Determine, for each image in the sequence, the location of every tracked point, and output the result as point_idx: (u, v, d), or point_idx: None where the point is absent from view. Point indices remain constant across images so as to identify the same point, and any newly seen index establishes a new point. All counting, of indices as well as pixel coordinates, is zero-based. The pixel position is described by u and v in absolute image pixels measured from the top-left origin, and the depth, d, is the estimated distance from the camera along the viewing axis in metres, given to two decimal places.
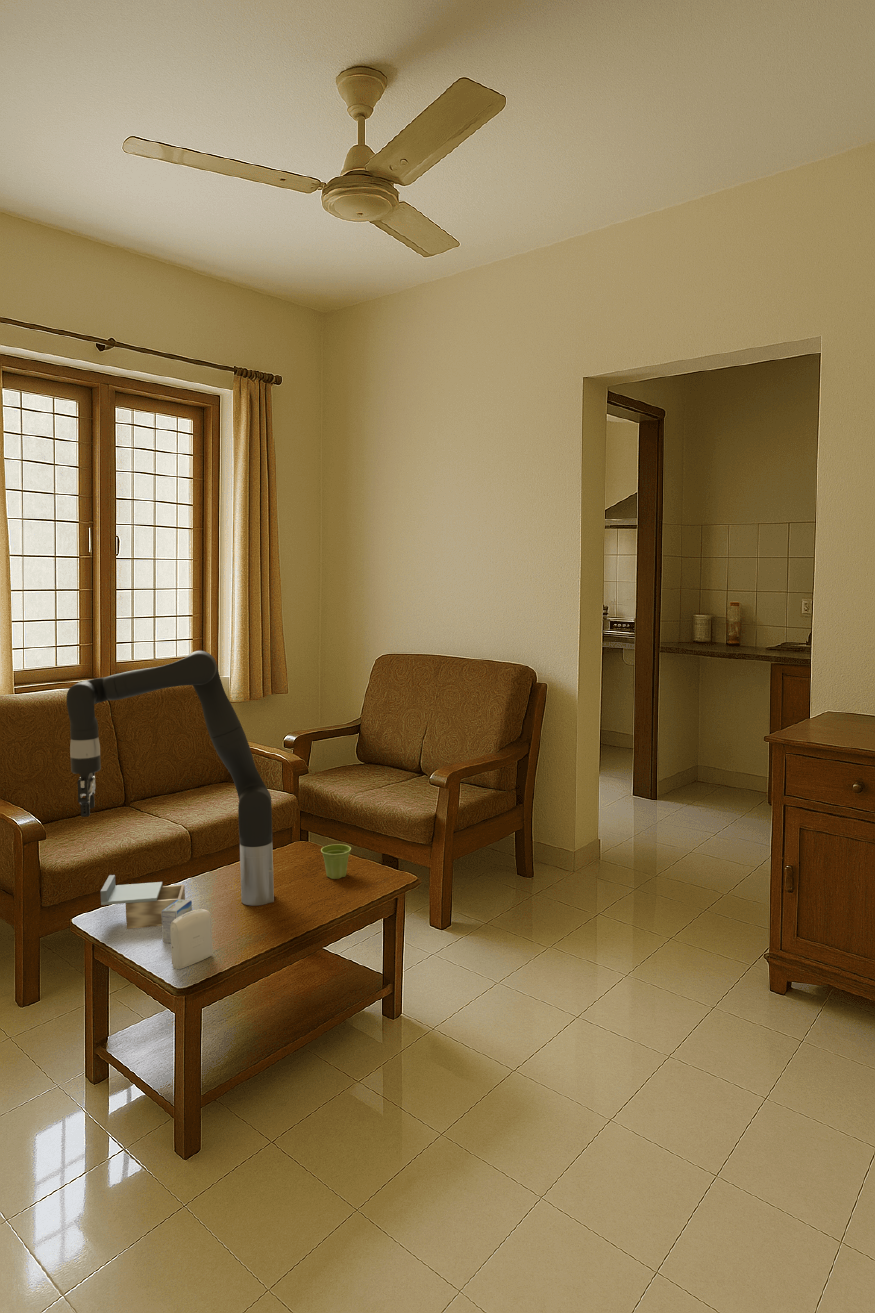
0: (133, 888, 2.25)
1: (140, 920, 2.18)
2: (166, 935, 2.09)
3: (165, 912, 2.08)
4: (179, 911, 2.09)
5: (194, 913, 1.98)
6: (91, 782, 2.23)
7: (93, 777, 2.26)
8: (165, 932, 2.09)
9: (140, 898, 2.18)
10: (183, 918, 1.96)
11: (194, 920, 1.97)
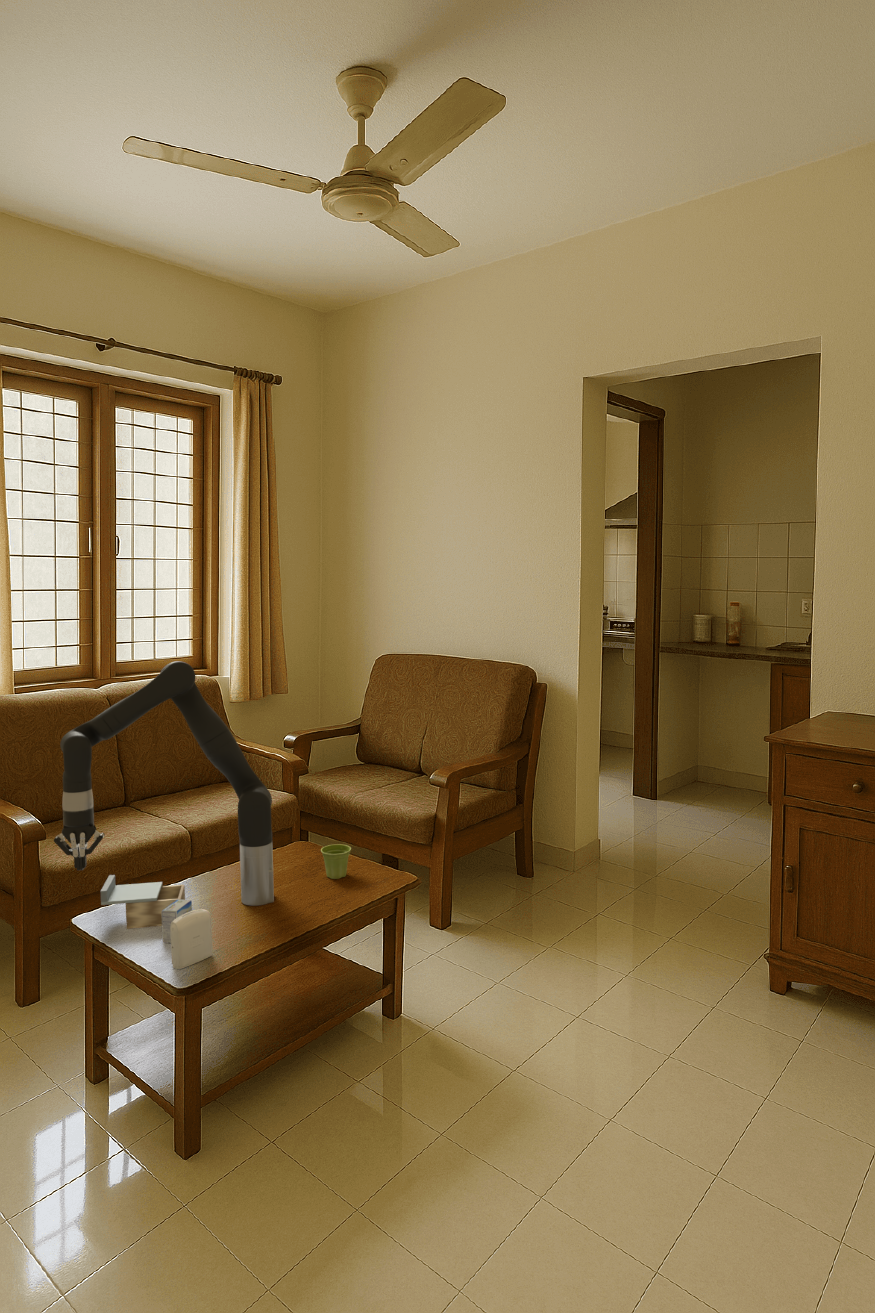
0: (133, 888, 2.25)
1: (140, 920, 2.18)
2: (166, 935, 2.09)
3: (165, 912, 2.08)
4: (179, 911, 2.09)
5: (194, 913, 1.98)
6: None
7: None
8: (165, 932, 2.09)
9: (140, 898, 2.18)
10: (183, 918, 1.96)
11: (194, 920, 1.97)
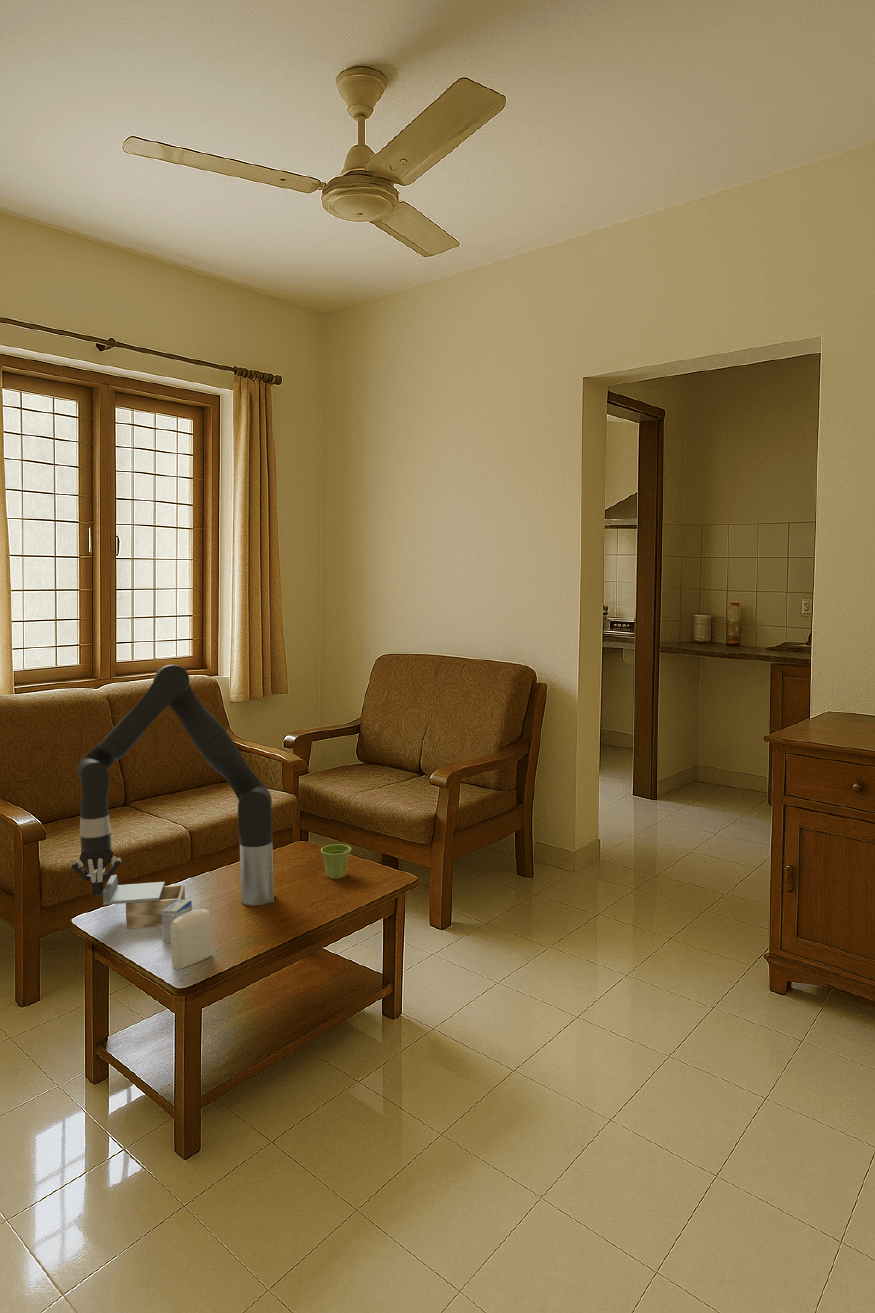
0: (135, 888, 2.25)
1: (140, 920, 2.18)
2: (166, 935, 2.09)
3: (165, 912, 2.08)
4: (179, 911, 2.09)
5: (194, 913, 1.98)
6: None
7: None
8: (165, 932, 2.09)
9: (142, 898, 2.18)
10: (183, 918, 1.96)
11: (194, 920, 1.97)
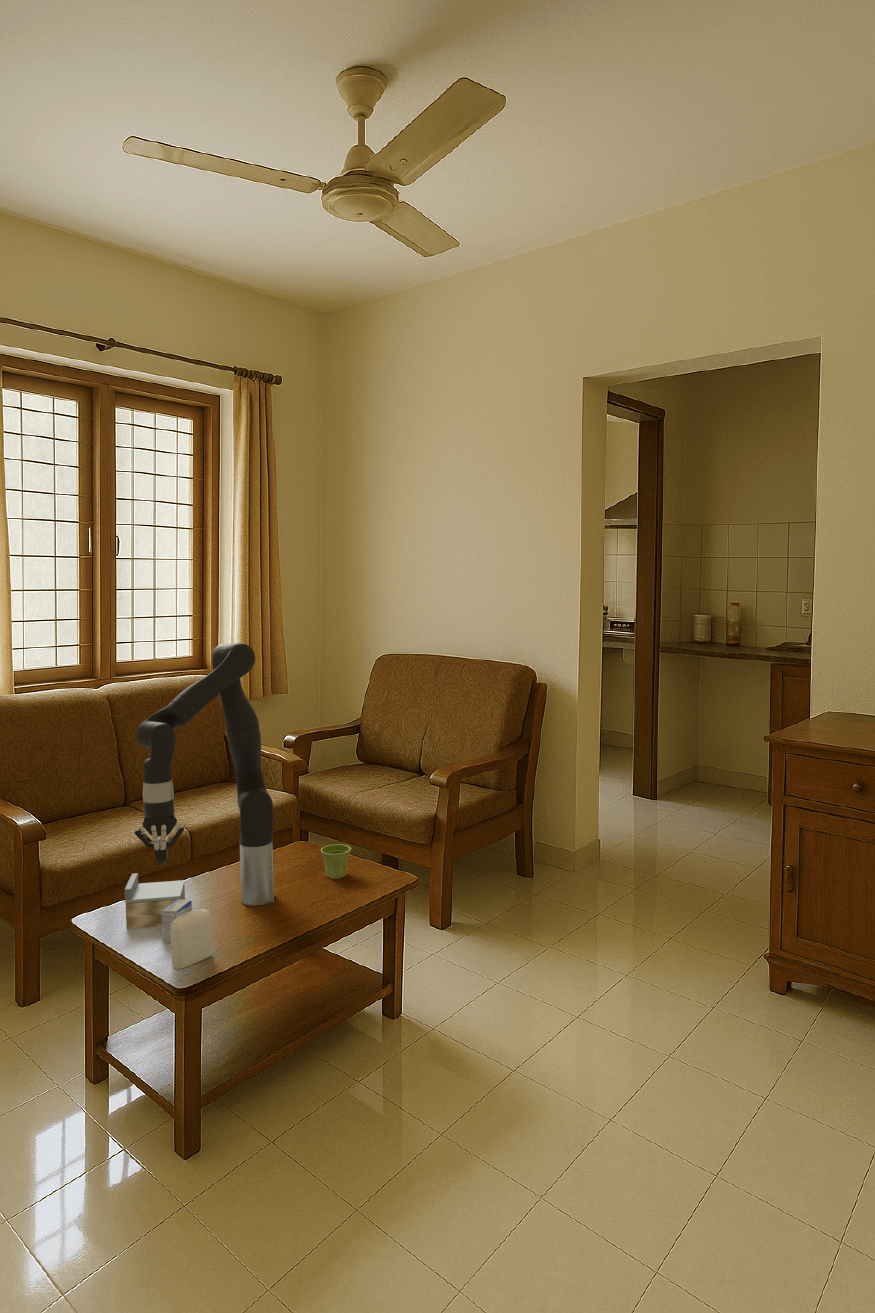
0: (156, 886, 2.26)
1: (140, 920, 2.18)
2: (166, 935, 2.09)
3: (165, 912, 2.08)
4: (179, 911, 2.09)
5: (194, 913, 1.98)
6: None
7: None
8: (165, 932, 2.09)
9: (164, 896, 2.19)
10: (183, 918, 1.96)
11: (194, 920, 1.97)
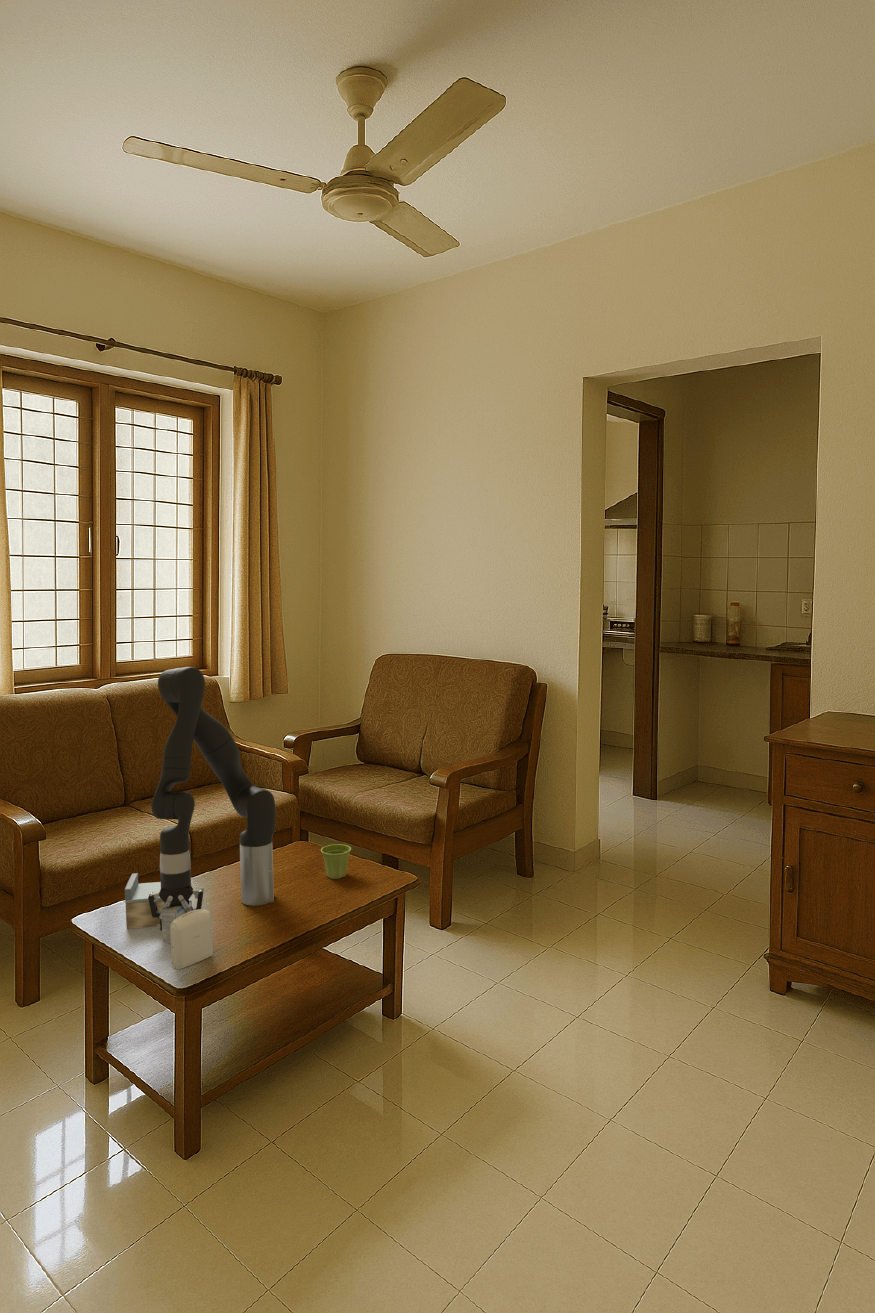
0: (156, 886, 2.26)
1: (140, 920, 2.18)
2: (166, 935, 2.09)
3: (165, 912, 2.08)
4: (179, 911, 2.09)
5: (194, 913, 1.98)
6: None
7: None
8: (165, 932, 2.09)
9: None
10: (183, 918, 1.96)
11: (194, 920, 1.97)
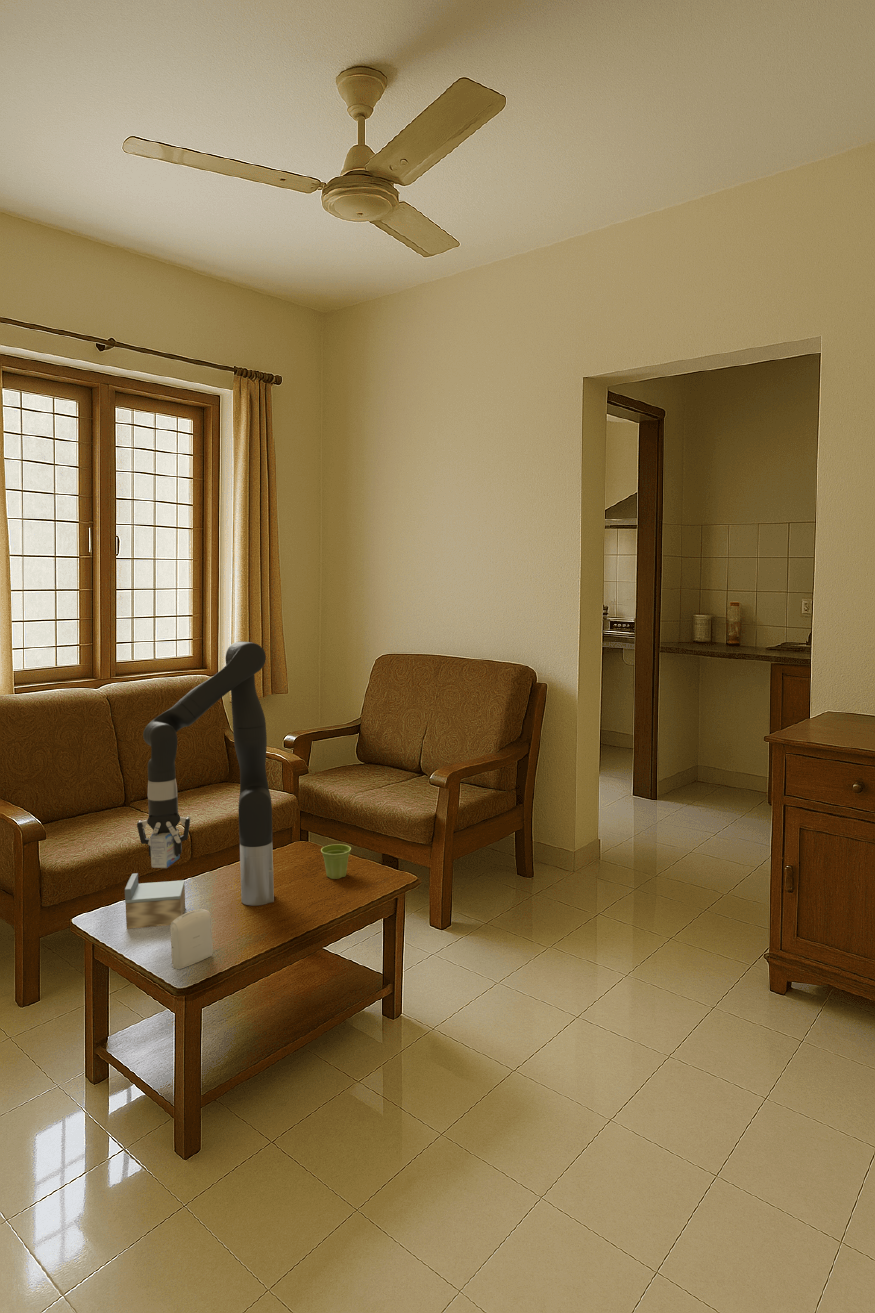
0: (156, 886, 2.26)
1: (140, 920, 2.18)
2: (155, 860, 2.17)
3: (153, 838, 2.16)
4: (167, 837, 2.17)
5: (194, 913, 1.98)
6: None
7: None
8: (154, 857, 2.17)
9: (164, 896, 2.19)
10: (183, 918, 1.96)
11: (194, 920, 1.97)
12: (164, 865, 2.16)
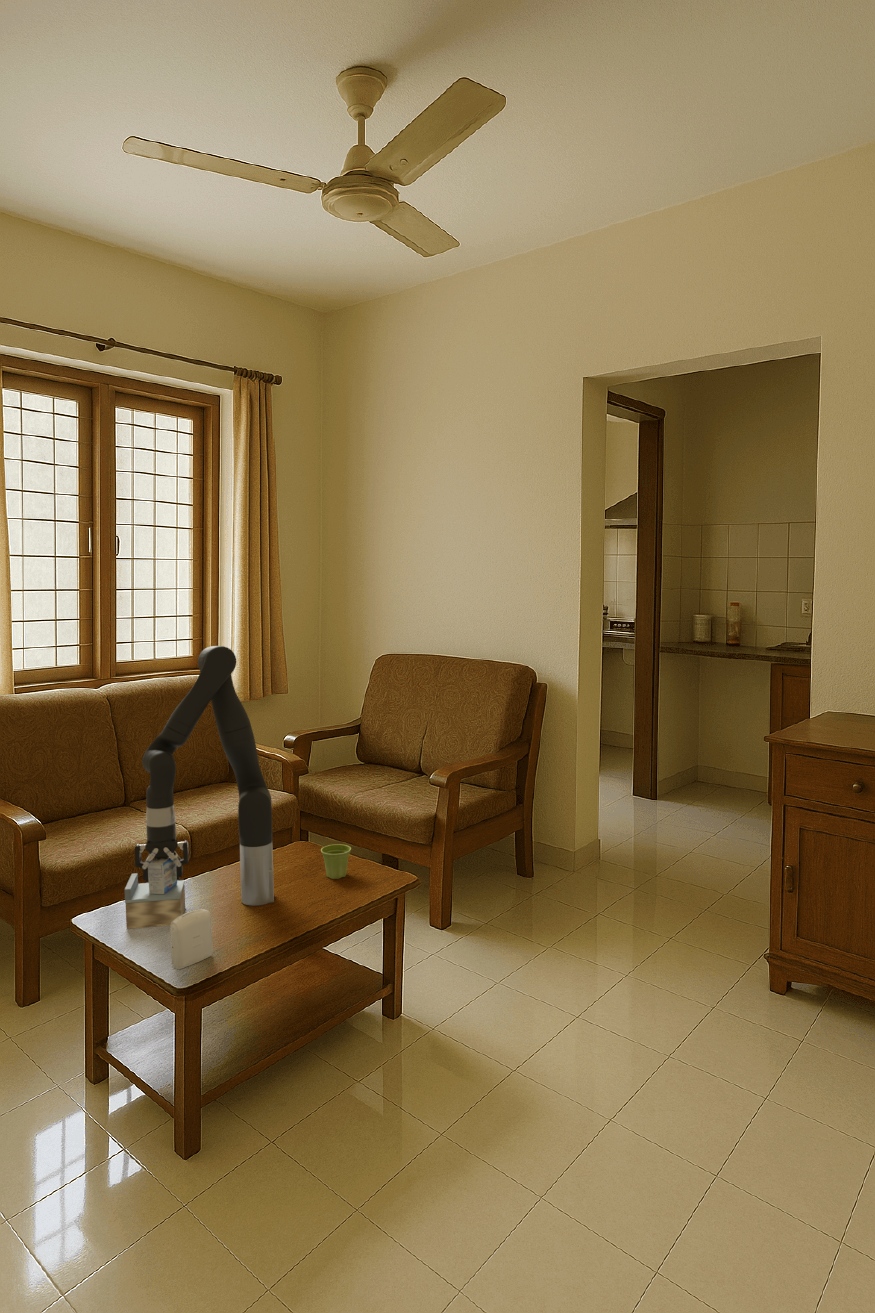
0: None
1: (140, 920, 2.18)
2: (153, 887, 2.20)
3: (151, 865, 2.20)
4: (165, 864, 2.21)
5: (194, 913, 1.98)
6: None
7: None
8: (151, 884, 2.20)
9: (163, 896, 2.19)
10: (183, 918, 1.96)
11: (194, 920, 1.97)
12: (162, 891, 2.20)
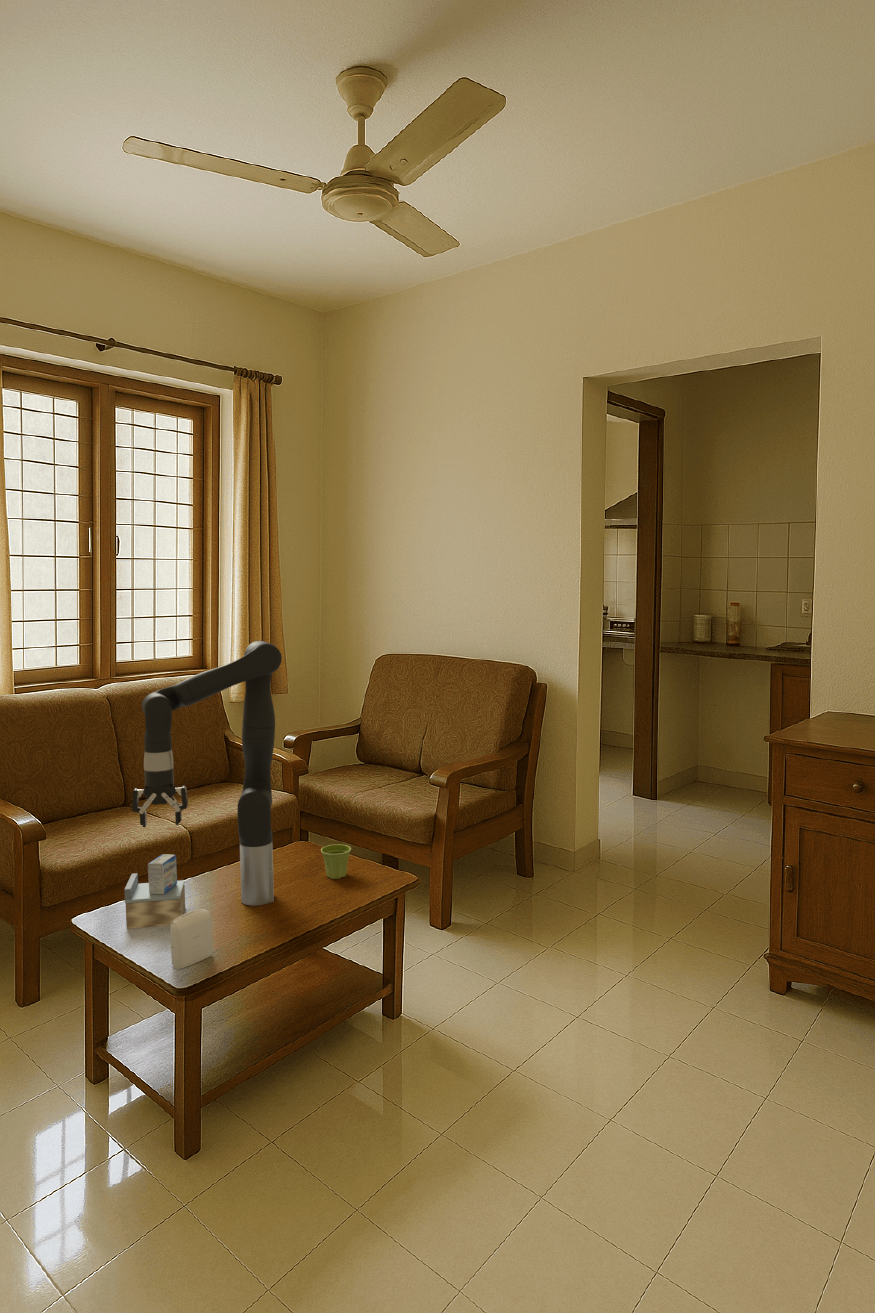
0: None
1: (140, 920, 2.18)
2: (152, 887, 2.20)
3: (151, 865, 2.20)
4: (165, 864, 2.21)
5: (194, 913, 1.98)
6: None
7: None
8: (151, 884, 2.20)
9: (163, 896, 2.19)
10: (183, 918, 1.96)
11: (194, 920, 1.97)
12: (162, 891, 2.20)
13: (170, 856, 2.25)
